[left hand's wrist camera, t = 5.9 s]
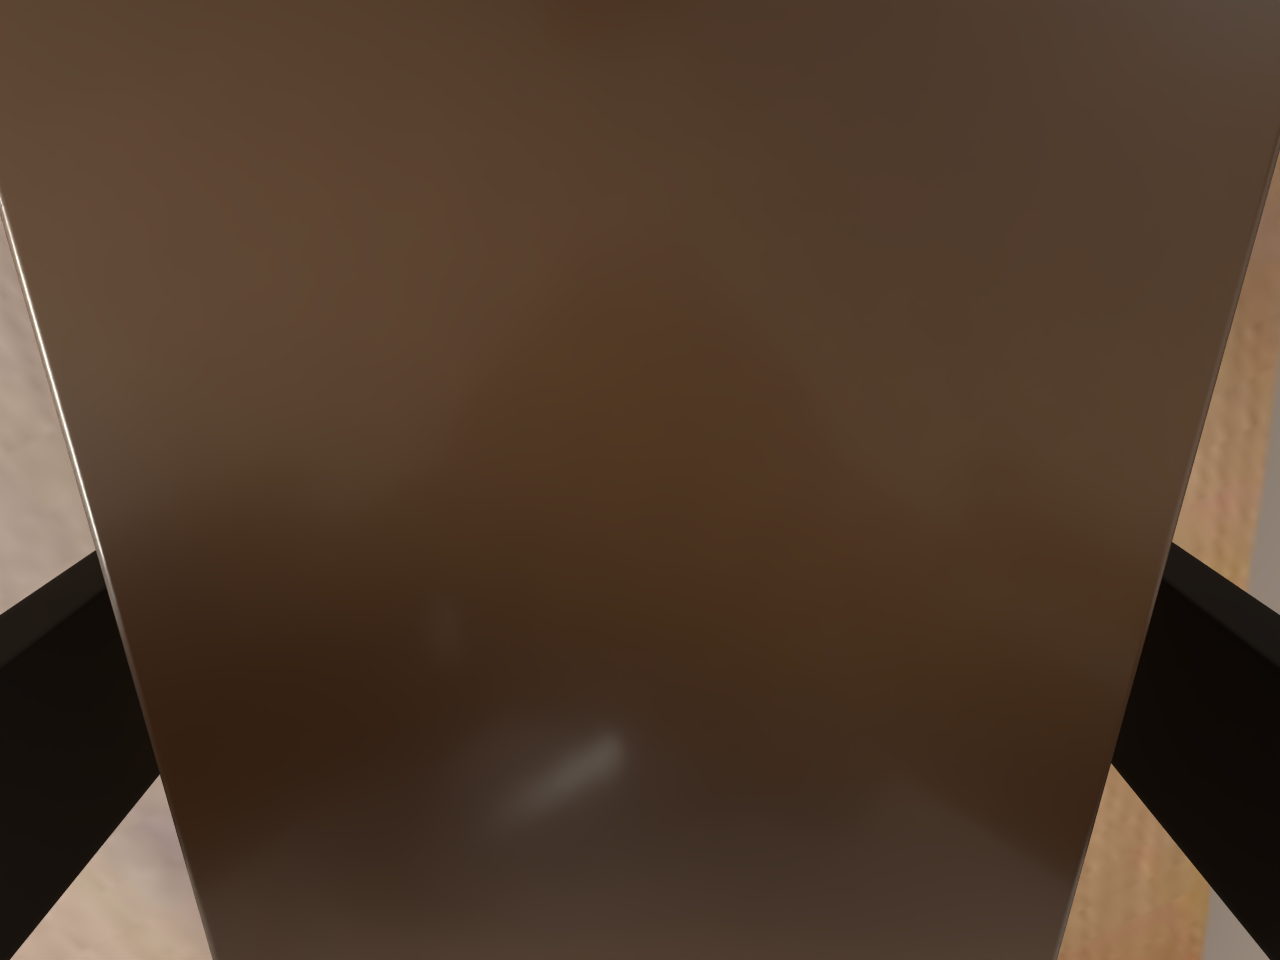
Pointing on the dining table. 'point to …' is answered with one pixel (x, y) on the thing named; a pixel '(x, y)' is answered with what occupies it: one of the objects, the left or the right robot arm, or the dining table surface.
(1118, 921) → the dining table surface
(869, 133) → the box
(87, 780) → the left robot arm
